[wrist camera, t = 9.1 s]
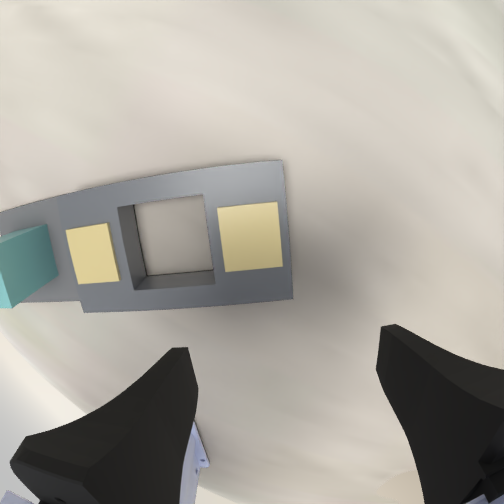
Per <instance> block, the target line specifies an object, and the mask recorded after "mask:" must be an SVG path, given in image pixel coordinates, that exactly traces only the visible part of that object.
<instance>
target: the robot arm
mask: <svg viewBox="0 0 504 504" xmlns="http://www.w3.org/2000/svg"><path fill="white" fill-rule="evenodd" d="M376 371H377V374H378V377H379V380H380V383H381V385H382V388H383V391H384V393H385V395H386V397H387V398H388V400H389V402H390V404H391V406H392V408H393V410H394V412H395V414H396V416H397V418H398V420H399V422H400V424H401V426H402V428H403V430H404V432H405V434H406V436H407V439H408V441H409V444H410V447H411V450H412V453H413V457H414V460H415V463H416V467H417V470H418V474H419V478H420V482H421V487H422V492H423V496H424V502H425V504H504V370H502V369H498V368H494V367H489V366H486V365H482V364H479V363H476V362H473V361H470V360H468V359H465V358H462V357H460V356H457V355H455V354H453V353H451V352H449V351H446V350H444V349H442V348H440V347H438V346H436V345H434V344H432V343H431V342H429V341H427V340H425V339H423V338H421V337H420V336H418V335H416V334H414V333H412V332H410V331H409V330H407V329H405V328H403V327H401V326H399V325H397V324H393V325H387V326H382V327H381V332H380V341H379V350H378V358H377V365H376ZM197 399H198V385H197V381H196V377H195V374H194V370H193V366H192V362H191V358H190V354H189V350H188V347H181V348H171V349H170V350H169V351H168V352H167V353H166V354H165V355H164V356H163V357H162V358H161V359H160V360H159V361H158V362H156V363H155V364H154V365H153V366H152V367H151V368H150V369H149V370H148V371H147V372H146V373H145V374H144V375H143V376H142V377H140V378H139V379H138V380H137V381H136V382H134V383H133V384H132V385H131V386H130V387H128V388H127V389H126V390H125V391H124V392H122V393H121V394H120V395H118V396H117V397H115V398H114V399H113V400H111V401H110V402H108V403H107V404H105V405H103V406H102V407H100V408H98V409H97V410H95V411H93V412H91V413H89V414H87V415H85V416H83V417H82V418H80V419H77V420H75V421H73V422H71V423H68V424H66V425H63V426H61V427H58V428H55V429H52V430H49V431H45V432H42V433H38V434H34V435H30V436H26V437H25V439H24V440H23V442H22V443H21V445H20V446H19V448H18V449H17V451H16V453H15V454H14V456H13V457H12V459H11V460H10V466H11V468H12V470H13V472H14V473H15V475H16V476H17V477H18V478H19V479H20V481H22V483H23V484H24V485H25V486H26V487H27V488H28V489H29V490H30V491H31V492H32V493H33V494H34V495H35V496H36V497H38V498H39V499H40V502H39V504H195V498H196V491H197V485H198V478H199V471H200V467H209V465H210V463H209V460H208V458H207V455H206V452H205V450H204V447H203V444H202V442H201V439H200V436H199V433H198V431H197V428H196V425H195V422H194V418H195V414H196V408H197ZM0 504H33V503H32V502H30V501H29V500H27V499H25V498H22V497H20V496H19V495H17V494H15V493H13V492H11V491H6V493H5V495H4V496H3V498H2V500H1V502H0Z"/></svg>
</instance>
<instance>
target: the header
mask: <svg viewBox="0 0 504 504" xmlns="http://www.w3.org/2000/svg"><path fill="white" fill-rule="evenodd" d="M202 194H203V198H204V205H205V213H206V221H207V228H208V235H209V242H210V249H211V256H212V263H213V269H214V270H212V271H201V272H190V273H179V274H168V275H156V276H146V272H145V267H144V262H143V258H142V253H141V248H140V242H139V237H138V232H137V226H136V220H135V214H134V208H133V204H139V203H146V202H152V201H159V200H165V199H172V198H179V197H187V196H194V195H202ZM56 198H57V204H58V210H59V216H60V221H61V226H62V231H63V236H64V241H65V245H66V250H67V254H68V258H69V262H70V266H71V270H72V274H73V278H74V281H75V285H76V289H77V292H78V295H79V299H80V302H81V305H82V308H83V312H84V313H91V312H123V311H147V310H166V309H182V308H197V307H211V306H224V305H236V304H248V303H258V302H269V301H279V300H288V299H293V286H292V270H291V256H290V242H289V229H288V216H287V205H286V193H285V182H284V172H283V161H282V160H273V161H262V162H252V163H243V164H234V165H225V166H217V167H210V168H202V169H195V170H188V171H181V172H175V173H169V174H163V175H157V176H151V177H145V178H140V179H134V180H129V181H124V182H119V183H114V184H109V185H104V186H99V187H95V188H90V189H86V190H81V191H77V192H73V193H69V194H65V195H61V196H57V197H56Z"/></svg>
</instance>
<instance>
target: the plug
mask: <svg viewBox="0 0 504 504" xmlns="http://www.w3.org/2000/svg"><path fill="white" fill-rule="evenodd" d="M58 275H59V274H58V270H57V266H56V262H55V258H54V254H53V250H52V246H51V241H50V237H49V232H48V227H47V224H45V225H40V226H35V227H31V228H26V229H22V230H17V231H13V232H11V233H8V234H6V235H3V236H1V237H0V308H13V307H15V306H16V305H17V304H19V303H20V302H21V301H23V300H24V299H25V298H27V297H28V296H30V295H31V294H32V293H34V292H35V291H37V290H38V289H39V288H41V287H42V286H44V285H45V284H47V283H48V282H50V281H51V280H52V279H54V278H55V277H57V276H58Z"/></svg>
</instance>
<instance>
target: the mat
mask: <svg viewBox="0 0 504 504" xmlns="http://www.w3.org/2000/svg"><path fill="white" fill-rule="evenodd" d="M45 224H47V227H48V232H49V237H50V241H51V246H52V250H53V254H54V258H55V262H56V266H57V270H58V274H59V275H58V276H57V277H55V278H54V279H52V280H51V281H50V282H48V283H47V284H45V285H44V286H42V287H41V288H39V289H38V290H37V291H35V292H34V293H32V294H31V295H30V296H28V297H27V298H25V299H24V300H23V301H21V302H20V303H25V302H62V301H80V299H79V295H78V292H77V289H76V285H75V281H74V278H73V274H72V270H71V266H70V262H69V258H68V254H67V250H66V245H65V241H64V236H63V231H62V226H61V221H60V216H59V210H58V204H57V198H56V197H53V198H49V199H45V200H42V201H38V202H34V203H31V204H27V205H23V206H20V207H17V208H13V209H10V210H6V211H3V212H0V235H1V236H3V235H6V234H8V233H11V232H13V231H17V230H22V229H26V228H31V227H35V226H40V225H45Z"/></svg>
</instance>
